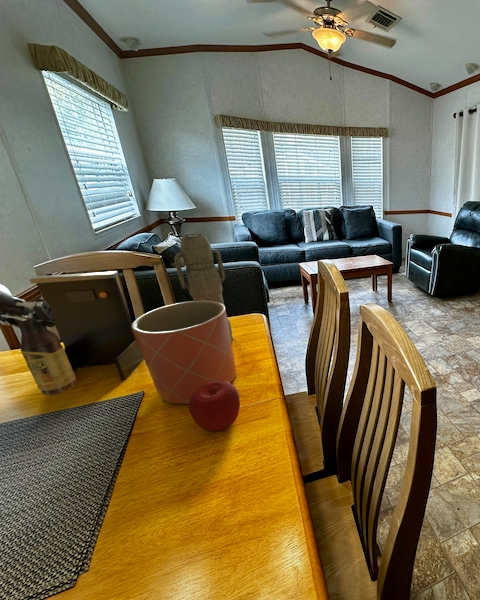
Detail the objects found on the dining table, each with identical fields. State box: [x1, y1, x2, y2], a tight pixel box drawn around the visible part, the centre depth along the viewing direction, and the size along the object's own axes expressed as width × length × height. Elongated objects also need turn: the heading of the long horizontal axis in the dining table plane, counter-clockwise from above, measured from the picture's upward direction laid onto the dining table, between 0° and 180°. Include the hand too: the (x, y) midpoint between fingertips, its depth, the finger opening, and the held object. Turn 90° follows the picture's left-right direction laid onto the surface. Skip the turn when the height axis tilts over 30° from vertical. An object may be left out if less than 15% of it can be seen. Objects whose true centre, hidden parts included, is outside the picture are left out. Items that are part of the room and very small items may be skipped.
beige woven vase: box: [173, 233, 234, 343], centre depth 100 cm, size 9×12×35 cm
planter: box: [132, 300, 237, 405], centre depth 82 cm, size 19×19×20 cm
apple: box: [188, 380, 241, 432], centre depth 71 cm, size 10×10×10 cm
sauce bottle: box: [14, 313, 78, 396], centre depth 74 cm, size 7×6×20 cm
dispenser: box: [28, 270, 145, 382], centre depth 86 cm, size 12×18×27 cm, turn 104°
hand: (40, 324), depth 73 cm, fingers closed on sauce bottle, 4 cm apart
